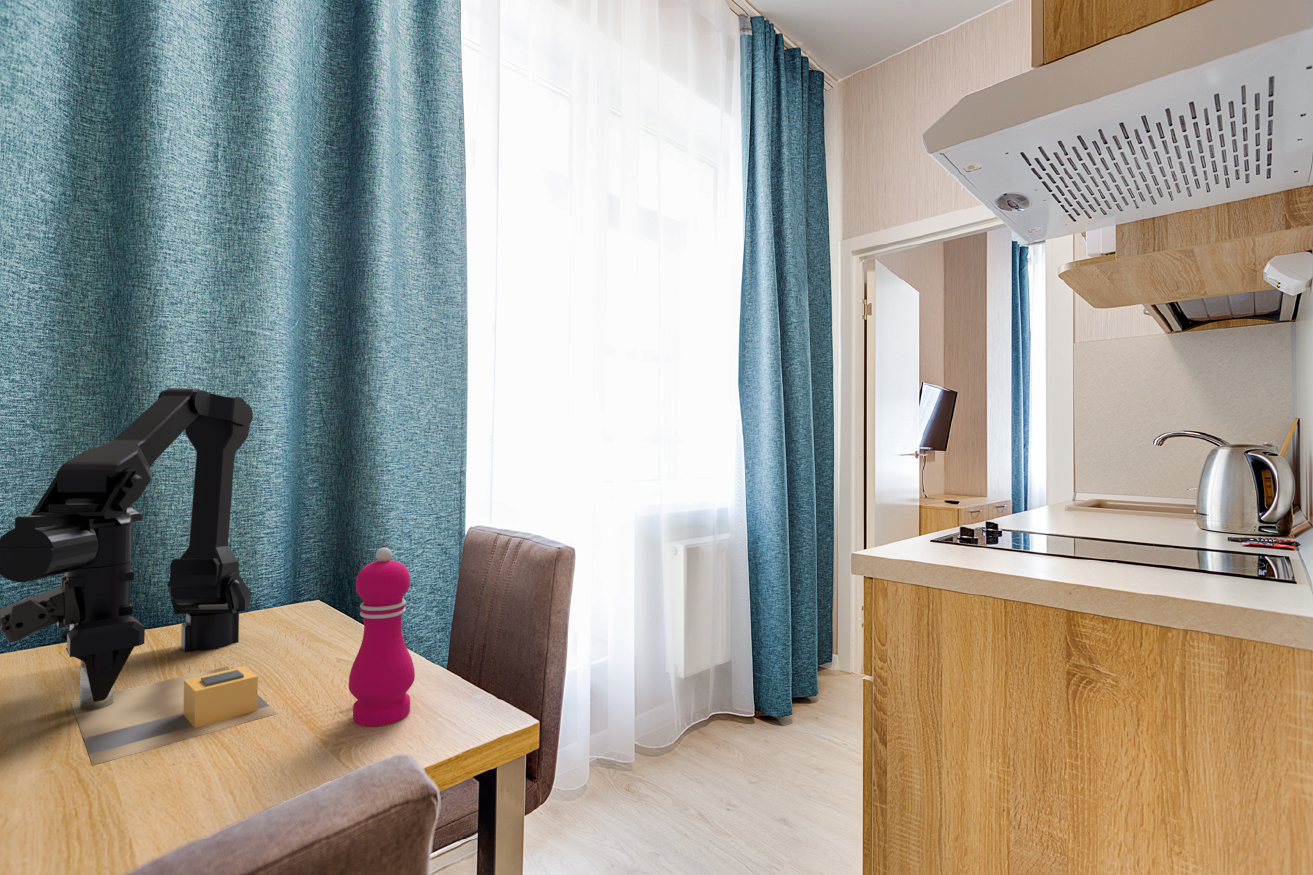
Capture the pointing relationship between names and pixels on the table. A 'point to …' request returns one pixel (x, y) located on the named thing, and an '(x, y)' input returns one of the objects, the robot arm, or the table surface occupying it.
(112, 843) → the table surface
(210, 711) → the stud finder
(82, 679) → the metal peg
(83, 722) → the beige flat piece
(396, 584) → the pepper mill
